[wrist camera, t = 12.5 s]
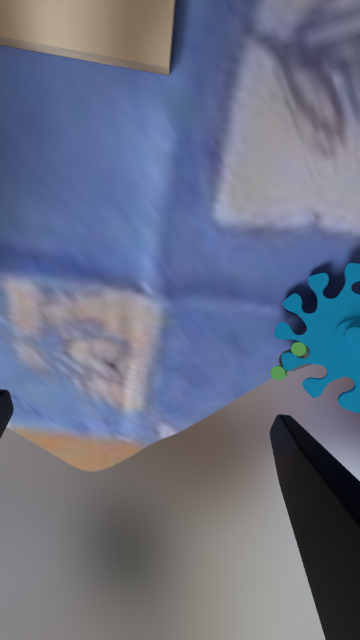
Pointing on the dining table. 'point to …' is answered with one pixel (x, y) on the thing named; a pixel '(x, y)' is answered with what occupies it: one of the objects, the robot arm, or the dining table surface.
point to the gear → (326, 338)
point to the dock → (93, 30)
